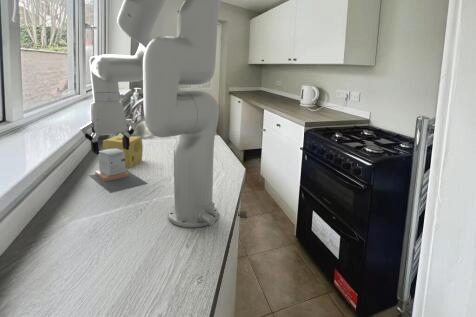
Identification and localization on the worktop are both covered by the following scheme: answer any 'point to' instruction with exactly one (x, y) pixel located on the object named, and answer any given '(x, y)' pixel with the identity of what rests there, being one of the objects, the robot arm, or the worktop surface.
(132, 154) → the cheese
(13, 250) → the worktop surface
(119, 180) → the mat
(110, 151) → the skincare box
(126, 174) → the tile
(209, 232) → the worktop surface
